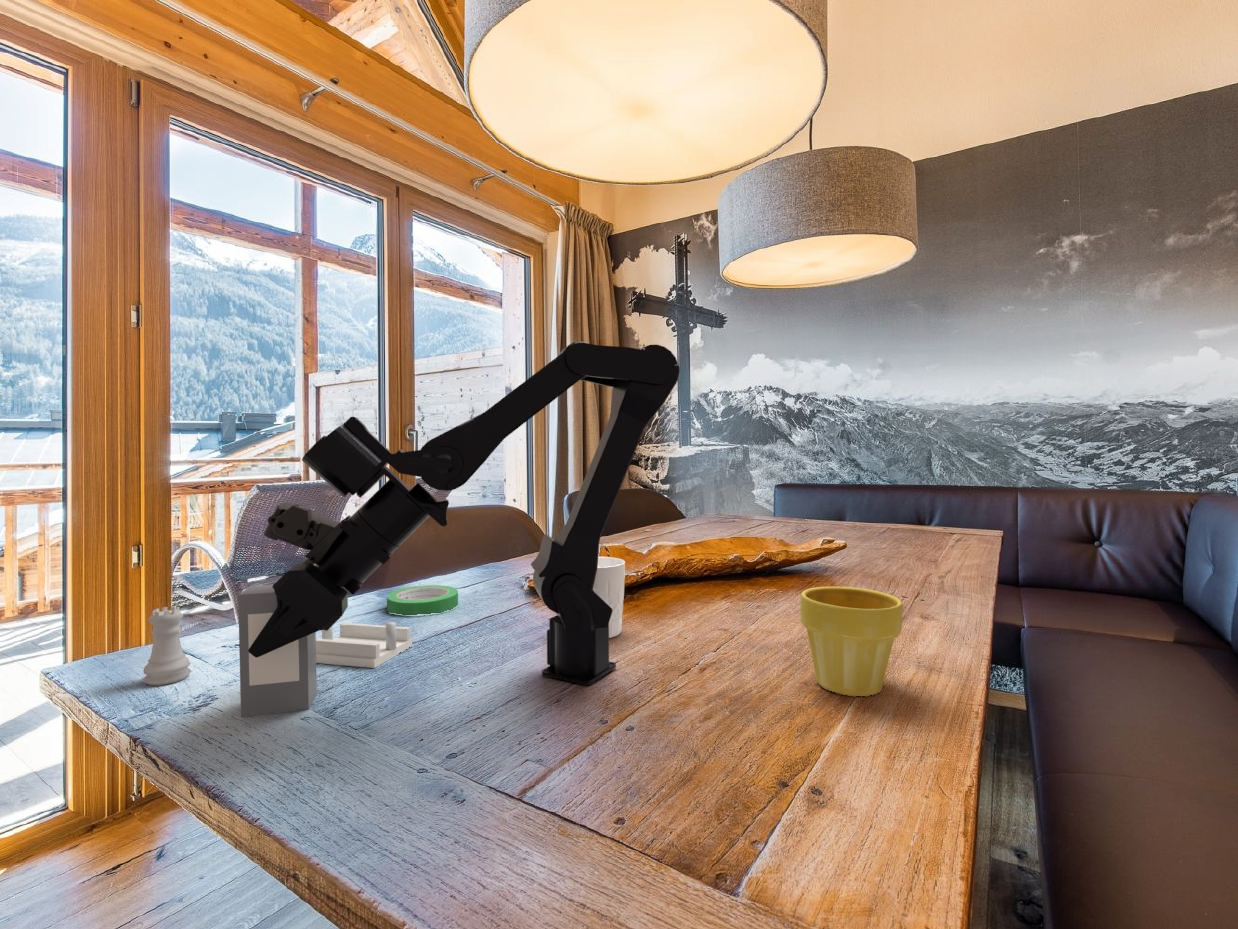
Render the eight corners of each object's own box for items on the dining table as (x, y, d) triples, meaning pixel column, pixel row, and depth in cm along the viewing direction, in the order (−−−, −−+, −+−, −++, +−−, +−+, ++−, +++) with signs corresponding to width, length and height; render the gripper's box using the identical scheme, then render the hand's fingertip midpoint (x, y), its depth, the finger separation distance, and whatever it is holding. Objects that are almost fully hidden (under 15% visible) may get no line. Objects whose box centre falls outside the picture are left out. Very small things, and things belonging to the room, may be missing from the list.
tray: (413, 646, 80) (412, 614, 80) (376, 668, 72) (375, 633, 72) (344, 641, 82) (343, 610, 82) (300, 661, 75) (300, 627, 75)
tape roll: (419, 622, 92) (418, 605, 92) (372, 612, 98) (371, 595, 98) (472, 606, 102) (472, 590, 101) (426, 597, 107) (426, 582, 107)
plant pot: (897, 674, 70) (898, 589, 70) (906, 711, 60) (907, 612, 60) (802, 663, 73) (803, 582, 73) (797, 696, 64) (797, 603, 63)
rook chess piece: (201, 674, 71) (199, 605, 71) (163, 688, 66) (161, 616, 66) (171, 670, 72) (169, 603, 72) (132, 684, 68) (130, 613, 67)
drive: (316, 693, 65) (314, 581, 65) (308, 709, 61) (306, 590, 61) (253, 700, 63) (250, 585, 63) (240, 717, 60) (238, 594, 59)
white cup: (595, 621, 91) (594, 554, 91) (636, 631, 86) (636, 560, 86) (557, 633, 85) (557, 562, 85) (600, 645, 80) (599, 569, 80)
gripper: (334, 471, 72) (229, 570, 69) (297, 480, 54) (153, 614, 51) (406, 535, 74) (307, 633, 71) (394, 564, 56) (261, 697, 53)
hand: (263, 641), depth 62 cm, fingers open, 7 cm apart
